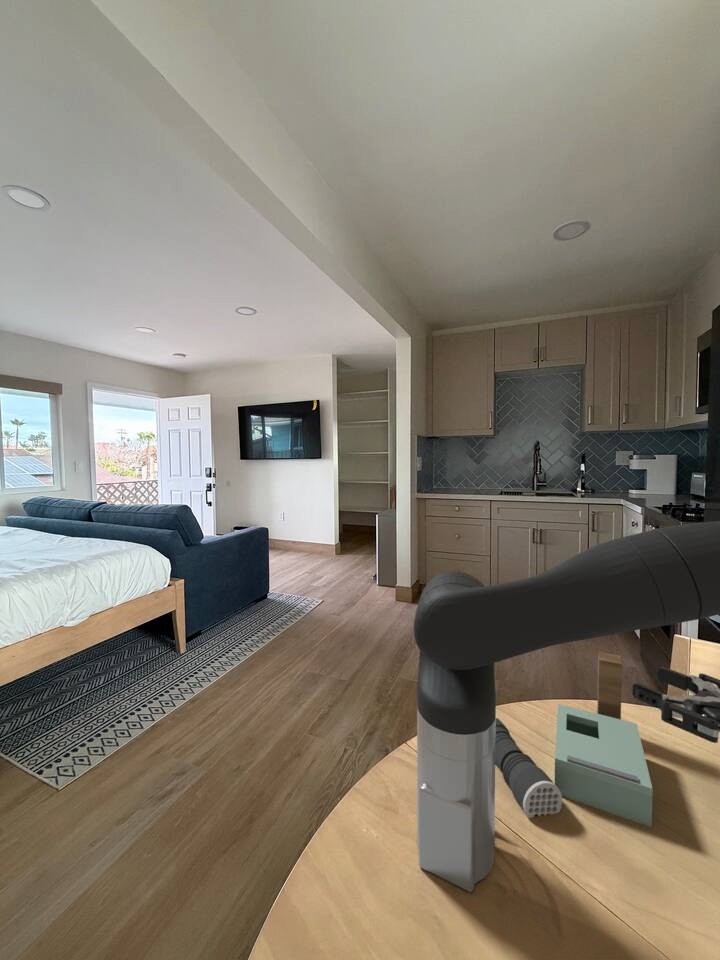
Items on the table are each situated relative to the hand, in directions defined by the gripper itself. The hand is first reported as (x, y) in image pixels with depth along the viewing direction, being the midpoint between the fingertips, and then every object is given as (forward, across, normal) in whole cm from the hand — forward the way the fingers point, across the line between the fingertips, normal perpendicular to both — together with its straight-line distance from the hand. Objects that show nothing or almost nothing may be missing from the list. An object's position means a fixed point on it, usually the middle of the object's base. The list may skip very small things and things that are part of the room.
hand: (646, 680), depth 62 cm
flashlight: (+9, +21, +13) cm, 26 cm away
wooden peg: (+6, 0, +13) cm, 14 cm away
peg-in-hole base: (+2, +11, +12) cm, 17 cm away
